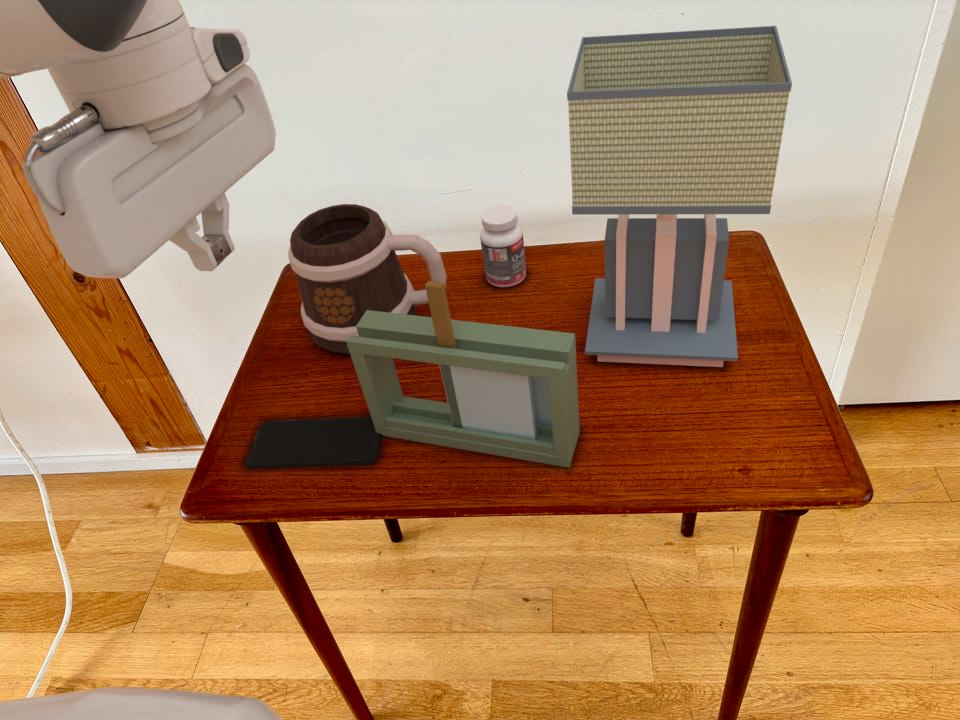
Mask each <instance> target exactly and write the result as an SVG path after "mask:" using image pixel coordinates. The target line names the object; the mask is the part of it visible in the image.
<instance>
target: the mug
mask: <svg viewBox="0 0 960 720" xmlns="http://www.w3.org/2000/svg"><path fill="white" fill-rule="evenodd" d="M289 243H290V245H289V247H288V251H287V256H288V262H289V265H290V267H291V270H292V271H293V272H294V273H295V275H296V279H297V284H298V288H299V292H300V293H299V294H300V297H301V305H300V316H301V319H302V322H303V326H304V327H305V328H306V329H307V331H308V335H309V336H310V339H311V340H312V341H313V343H314V344H316V345H317V346H318V347H319V348H321V349H324V350H326V351H329V352H332V353H335V354H344V355H345V354H347V355H350V352H349V349H348V346H347V343H346V340H347V339H348V337H349V336H357V337H359V335H358V332H357V329H356V325H357V324H358V322H359V321H360V319H361V318H362V316H363V315H364V313H365V312H366V311H367V310H370V311H379V312H388V313H397V314H406V315H415V316H417V310H416V309H417V306H418V305H419V306H420V305H426V304H429V302H428V297H427V293H426V289H421V290H415V288H414V286H413V285H412V282H411V280H410V279H409V277H408V276H407V275H406V274H405V273H404V271H403V268H402V265H401V263H400V260H399V258H398V255H397V253H396V252H397V251H399V252H400V251H411V252H414V253H415V254H418V255H419V256H420V257H421V258H422V259H423V260H424V261H425V262H426V266H427V270H428V273H429V274H428V275H429V277H430V281H434V282H443V283H444V286H445V288H446V287H447V278H448V277H447V273H446V269H445V266H444V262H443V257H442V255H441V253H440V252H439V251H438V250H437V249H436V247H435V246H434V245H433V244H432V243H431V242H430V241H429V240H427V239H425V238H423V237H421V235H418V234H401V233H400V234H399V233H398V234H393V232H392V231H391V229H390V227H389V225H388V223H387V222H386V221H385V220H382V218H381V216H380V214H379V213H378V212H377V211H375V210H373V209H372V208H371V207H370V208H369V207H367V206H364V205H360V204H355V203H354V204H353V203H342V204H336V205H329V206H327V207H324V208H320V209H318V210H316V211H313V212H312V213H309V214H308V215H307V216H305V217H304V218H303V219H302V220H300V222H299V223H298V224H297V225H296V227H294V229H293V230H292V232H291V234H290V238H289Z"/></svg>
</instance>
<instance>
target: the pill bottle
mask: <svg viewBox="0 0 960 720" xmlns="http://www.w3.org/2000/svg"><path fill="white" fill-rule="evenodd" d="M480 217H481V225H482V227H483V228H482V229H481V230H480V234H479V238H480V239H479V240H480V246H481V252H482V253H481V254H482V260H483V268H484V274H485V279H486V281H487V282H488V284H490V285H491V286H493V287H498V288H510V287H514V286H517V285H519V284H520V283H521V282H522V281H524V280H525V278H526V276H527V262H526V254H525V253H526V252H525V244H524V243H525V242H524V232H523V229H522V227H521V226H520V224H519V223H518V222H519V217H518V212H517V210H516V208H514V207H513V206H511V205H506V204H499V205H493V206H490V207H489V208H487V209H485V210H484V211H483V212H482V213H481V216H480Z"/></svg>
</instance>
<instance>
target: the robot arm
mask: <svg viewBox="0 0 960 720" xmlns="http://www.w3.org/2000/svg"><path fill="white" fill-rule="evenodd" d="M250 52H251V51H250V47H249V44H248V41H247V39H246V37H245V34H244V32H243V31H241V30H240V29H236V28H233V29H232V28H198V27H197V28H196V27H194V26H190V24H189V22H188V19H187V17H186V14H185V11H184V9H183V6H182V4H181V2H180V1H179V0H0V80H2V79H8V78H12V77H13V78H14V77H17V76H21V75H25V74H28V73H34V72H39V71H44V70H47V71H48V73H49V75H50V76H51V79H52V80H53V82H54V84H55V86H56V88H57V91H58V92H59V94H60V96H61V98H63V101H64V103H65V105H66V107H67V109H68V111H69V112H68V113H67V114H66V115H64V116H62V117H61V118H60V119H59V120H58V121H56V122H55V123H53V124H51V125H48V126H44V127H42V128H40V129H37V130H36V131H35V132H34V133H33V134H32V135H31V136H30V137H29V139H28V141H29V146H28V148H27V150H26V152H25V155H24V159H23V160H24V161H23V164H22V172H23V175H24V177H25V180H26V182H27V183H28V184H29V186H30V188H31V190H32V191H33V193H34V194H35V197H36V198H37V202H38V203H39V207H40V209H41V211H42V214H43V217H44V219H45V221H46V223H47V226H48V228H49V231H50V232H51V234H52V236H53V239H54V241H55V242H56V245H57V247H58V250H59V251H60V253H61V255H62V257H63V259H64V260H65V262H66V264H67V265H68V267H69V268H70V269H71V270H72V271H73V272H76V273H78V274H79V275H82V276H84V277H89V278H95V279H97V278H98V279H113V280H114V279H115V280H116V279H124V278H126V277H127V276H129V275H130V274H132V272H134V271H135V270H136V269H137V268H138V267H139V266H141V265H142V264H143V263H144V262H146V260H147V259H149V258H150V257H151V256H152V255H153V254H155V253H156V252H157V251H158V250H159V249H161V248H162V247H163V246H164V245H165V244H167V242H168V241H170V242H171V243H172V244H174V245H175V246H177V247H179V248H180V249H182V251H185V252H187V254H188V256H189V258H190V260H191V263H192V265H193V267H194V268H195V269H196V270H198V271H200V272H213V271H214V270H215V269H217V268H218V267H219V266H220V264H221V263H223V261H224V260H225V259H226V258H228V257H229V256H230V255H231V254H232V253H233V252H234V251H235V249H236V248H235V244H234V242H233V240H232V238H231V235H230V232H229V230H230V202H229V200H228V198H227V195H226V192H227V191H228V190H229V189H231V187H233V186H234V185H235V184H236V183H238V182H239V181H240V180H241V179H242V178H244V177H245V176H246V175H247V174H248V173H249V172H251V171H252V170H253V169H254V168H255V167H256V166H258V165H259V164H260V163H261V162H262V161H263V160H264V159H265V158H267V157H268V156H269V155H270V154H272V153H273V151H274V150H275V146H276V139H277V138H276V137H277V136H276V135H277V132H276V125H275V123H274V119H273V115H272V113H271V110H270V107H269V104H268V101H267V99H266V96H265V92H264V90H263V88H262V85H261V82H260V79H259V78H258V75H257V74H256V72H255V70H254V69H253V68H252V67H251V66H250V65H248V64H247V63H248V61H249V60H250V58H251V53H250ZM37 152H38V154H36V153H37ZM199 215H201V222H202V230H203V231H202V233H203V235H202V236H200V235H199V234H198V232H199V231H200V230H201V226H200V224H199V221H198V219H197V217H198V216H199ZM196 232H197V233H196ZM0 720H284V718H283V717H282V716H281V715H280V714H279V713H278V712H277V711H276V710H275V709H274V708H273V707H271V705H269V704H268V703H267V702H265V701H264V700H262V699H260V698H257V697H250V696H242V695H241V696H240V695H232V694H231V695H229V694H221V693H213V692H212V693H211V692H203V691H194V690H184V689H171V688H170V689H169V688H156V687H155V688H154V687H136V686H135V687H134V686H106V687H99V688H98V687H97V688H90V689H84V690H83V689H82V690H76V691H68V692H61V693H60V692H59V693H54V694H45V695H38V696H31V697H24V698H16V699H9V700H2V701H1V700H0Z"/></svg>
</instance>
